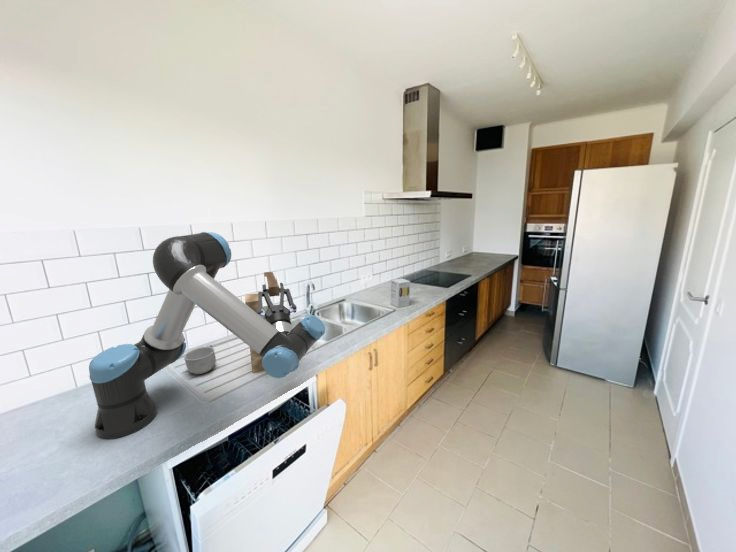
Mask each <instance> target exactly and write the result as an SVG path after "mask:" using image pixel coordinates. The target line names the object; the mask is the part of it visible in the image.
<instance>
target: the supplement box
mask: <svg viewBox="0 0 736 552" xmlns="http://www.w3.org/2000/svg"><path fill="white" fill-rule="evenodd" d="M410 292H411V281H410V280H407V279H406V278H395V279H391V281H390V300H389V301H390V304H391V305H392V306H395V307H396V308H403V307H408V306H410V295H411V293H410Z"/></svg>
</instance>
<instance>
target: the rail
mask: <svg viewBox="0 0 736 552" xmlns="http://www.w3.org/2000/svg"><path fill="white" fill-rule="evenodd" d="M263 277H264V281H265V277H267V282H268V288H269V294H268V295H269V297H270V298H271V297H279V296H280V293H279V285H278V283H277V281H276V275H274V273H273V271H267V272H263Z"/></svg>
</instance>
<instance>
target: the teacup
mask: <svg viewBox="0 0 736 552" xmlns="http://www.w3.org/2000/svg"><path fill="white" fill-rule="evenodd" d="M183 360H184V362H185V365H186V366H185V367H186V368H187V370H188V372H189V373H191V374H194V375H201V374H206V373H208V372H209V371H211V370H212V369H213V368H214V366H215V365H216V361H217V359H216V353H215V348H214V346H213V344H207V345H205V346H201V347H196V348H194V349H191V350H189V351H188V352H186V353H184V354H183Z"/></svg>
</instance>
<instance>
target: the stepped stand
mask: <svg viewBox="0 0 736 552" xmlns="http://www.w3.org/2000/svg"><path fill="white" fill-rule="evenodd" d="M244 300H245V302H244V303H245V304H246V305H247V306H249V307H250V308H251V309H252V310H254V311H255V312H256V313H257V310H258V308H259V304H258V293H248V294H247V293H246V294H244ZM262 309H263V310H264V313H266V311H267V310H268V309H269V308H268V305H265V306H264V305H263V304H262ZM261 317H263V316H261ZM263 318H264V319H265V317H263ZM265 320H266V319H265ZM266 321H267V320H266ZM249 352H250V363H251V372H252V374H256V373H260V372H265V369H264V368H263V365H262V360H263V357H262V356H261V355H260V354H258V353H257V352H256V351H255V350H253V349H252V348H251V347H250V346H249Z"/></svg>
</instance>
